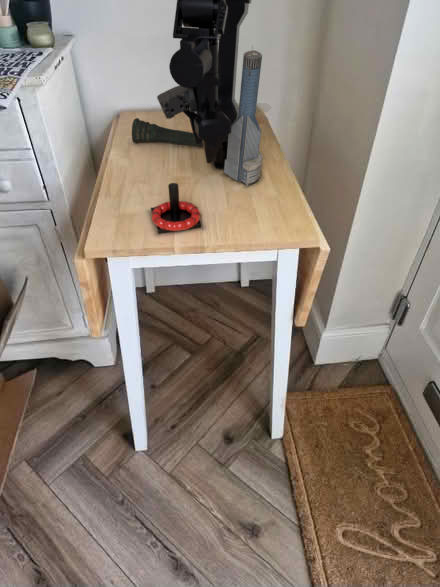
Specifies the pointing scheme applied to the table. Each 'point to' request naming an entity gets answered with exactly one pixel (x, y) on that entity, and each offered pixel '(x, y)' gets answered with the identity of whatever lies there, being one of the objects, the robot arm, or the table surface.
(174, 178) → the table surface
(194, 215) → the ring
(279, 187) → the table surface
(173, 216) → the peg
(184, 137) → the tool
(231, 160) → the building
